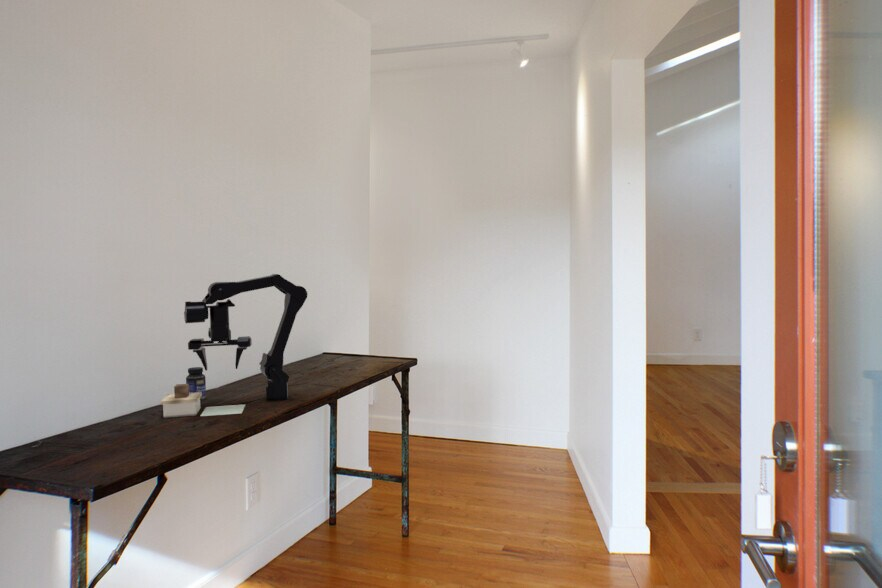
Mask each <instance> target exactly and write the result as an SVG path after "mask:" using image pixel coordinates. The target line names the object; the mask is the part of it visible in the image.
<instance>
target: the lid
mask: <svg viewBox="0 0 882 588" xmlns="http://www.w3.org/2000/svg"><path fill="white" fill-rule="evenodd" d="M173 389H174V391H173V392H174V393H169V394H166V395H165V396H164V397H163V398H162V399H161V401H160V405H161V406H163V404H177V403H192V402H197V401H198V400H199V398H200V397H201V396H202V392H195V393H189V384H186V383H182V384H175V386H173Z"/></svg>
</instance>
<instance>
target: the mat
mask: <svg viewBox="0 0 882 588" xmlns="http://www.w3.org/2000/svg"><path fill="white" fill-rule="evenodd" d="M245 407H246V404H233V405H231V404H230V405H229V404H228V405H219V406H218V405H217V406H216V405H215V406H206V407H204V409H203V411H202V413H201V414H200V417H209V416H225V415H236V414H237V415H238V414H242V413H243V411H244V410H245Z"/></svg>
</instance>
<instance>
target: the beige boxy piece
mask: <svg viewBox="0 0 882 588" xmlns="http://www.w3.org/2000/svg"><path fill="white" fill-rule="evenodd" d="M162 410H163V411H162V412H163V418H179V417H190V416H191V417H194V416H197V414H198V413H199V411H200V410H201V401H200V398H199V400H198V401H197V402H192V403H177V404H162Z"/></svg>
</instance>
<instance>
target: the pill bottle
mask: <svg viewBox="0 0 882 588" xmlns="http://www.w3.org/2000/svg"><path fill="white" fill-rule="evenodd" d="M187 373H188V375H187V376H186V377H185V384H189V393H195V392H202V396H201V397H200V402H201V401H205V400H206V399H207V388H206V387H207V386H206V384H207V383H206V374H203V373H204V367H201V366H198V367H197V366H196V367H195V366H194V367H189V368H187Z"/></svg>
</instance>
